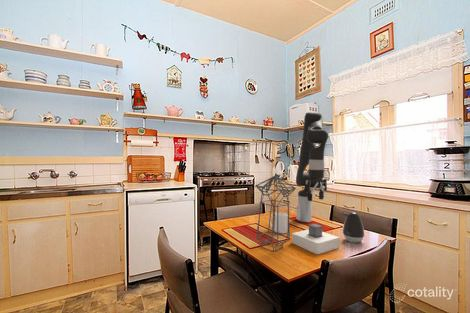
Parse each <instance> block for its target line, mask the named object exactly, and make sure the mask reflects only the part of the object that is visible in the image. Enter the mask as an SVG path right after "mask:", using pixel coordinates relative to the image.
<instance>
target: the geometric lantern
mask: <svg viewBox="0 0 470 313" xmlns="http://www.w3.org/2000/svg"><path fill="white" fill-rule="evenodd" d="M284 183H285V184H287V185H288V186H289V187H287V186H286V185H285V184H284ZM262 184H264V185H262ZM272 186H274V187H275V188H276V189H271V187H272ZM254 187H255V188H257V189H258V191H260V193H261V196H260V202H259V212H258V219H257V220H258V222H257V227H256V228H257V229H256V234H255V235H256V238H257V240H258V241H259V242H260V243H261V245H260V247H261V248H262V249H265V250H268V251H270V252H277V251H279V250H281V249H283V248H284V244H286V243H287V242H289V241H291V238H290V237H291V236H290V234H291V233H290V232H291V230H290V203H289V201H290V200H289V196H291V194H292V193H293V192H294V191H295V190H297V188H296V187H295V186H293V185H292V184H290V183H289V182H287V181H285V180H284V179H282V178H280V177H279V176H278V175H273V176H272V177H269V178H267V179H265V180H263V181H262V182H260V183H258V184H256V185H254ZM269 191H270V192H269ZM276 192H279V194H277V196H276V197H275V199H273V198H272V197H271V195H273V194H274V193H276ZM281 194H282V198H281V199H280V200H277V199H278V198H279V196H280V195H281ZM264 196H267V197H268V200H263V199H264ZM284 198H286V201H287V202H285V201H283V199H284ZM264 202H270V204H269V203H268V204H267V203H264ZM273 202H274V203H273ZM276 202H278V203H277V204H276ZM280 203H283V204H282V205H280ZM262 205H266V206H270V211H269V217H270V219H271V216H272V215H273V218H272V219H271V220H272V223H271V224H272V227H271V226H270V222H271V220H270V219H269V218H268V219H269V223H268V228H267V232H263V233H261V234H259V231H260V221H261V211H262ZM284 206H287V214H288V227H287V233H286V235H284V234H283V235H282V234H281V233H278V213H279V208H281V207H284ZM275 213H277V232H275V231H274V227H275ZM273 225H274V226H273ZM270 227H271V231H270ZM265 234H267V235H268V238H267V239H263V238H261V237H259V236H263V235H265ZM270 234H271V237H270ZM274 235H276V239H274ZM279 236H280V237H283V238H285V239H283V241H280V240H279ZM274 241H275V242H276V243H274ZM265 245H266V246H269V247H271V248H272V249H270V248H266V247H264V246H265ZM274 245H275V246H274ZM278 247H279V248H278ZM277 248H278V249H277Z"/></svg>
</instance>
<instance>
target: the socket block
mask: <svg viewBox="0 0 470 313" xmlns="http://www.w3.org/2000/svg"><path fill="white" fill-rule="evenodd" d="M291 243H292V245H293V244H294V245H296V246H298V247H300V248H303V249H304V250H306V251H309V252H311V253H314V254H315V255H321V254H323V253H328V252H330V251H333V250H336V249H339V248H340V236H337V235H333V234H331V233H327V232H324V231H322V237H319V238H314V237H312V236H309V229H304V230H301V231H296V232H292V233H291Z"/></svg>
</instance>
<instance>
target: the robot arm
mask: <svg viewBox="0 0 470 313" xmlns="http://www.w3.org/2000/svg"><path fill="white" fill-rule="evenodd" d="M304 115H305V116H304V120H303V131H302V139H301V146H300V153H299V161H298V166H297V171H296V177H295V184H296V185H297V186H299V187H304V188H303V189H301V190H299V191H298V192H297V206H296V220H297V221H298V222H302V223H310V222H312V210H313V209H312V208H313V206H312V203H313V193H314V191H315V190H318V192H319V193H318V200H324V198H325V197H324V194H325V191H326V192H327V190H328V189H327V188H328V187H327V186H328V183H327V179H324V178H325V148H326V145H327V142H328V140H329V133H328V131H327V130H326V129H323V125H324V116H323V114H322V113H320V112H306V113H305V114H304ZM315 144H320V145H318V147H316V145H315ZM307 167H308V172H305V170H306V168H307Z"/></svg>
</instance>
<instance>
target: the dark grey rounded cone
mask: <svg viewBox="0 0 470 313" xmlns="http://www.w3.org/2000/svg"><path fill="white" fill-rule="evenodd" d="M342 214H343V215H344V216H345V217H346V218H345V221H344V222H343V227H342V234H343V237H344V238H345V240H346V241H348V242H350V243H354V244H355V243H356V244H357V243H361V242H362V241H363V240H364V237H365V229H364V225H363V222H362V219H361V217H360V215H359V213H357V212H352V211H351V212H349V213H346V212H342Z"/></svg>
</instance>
